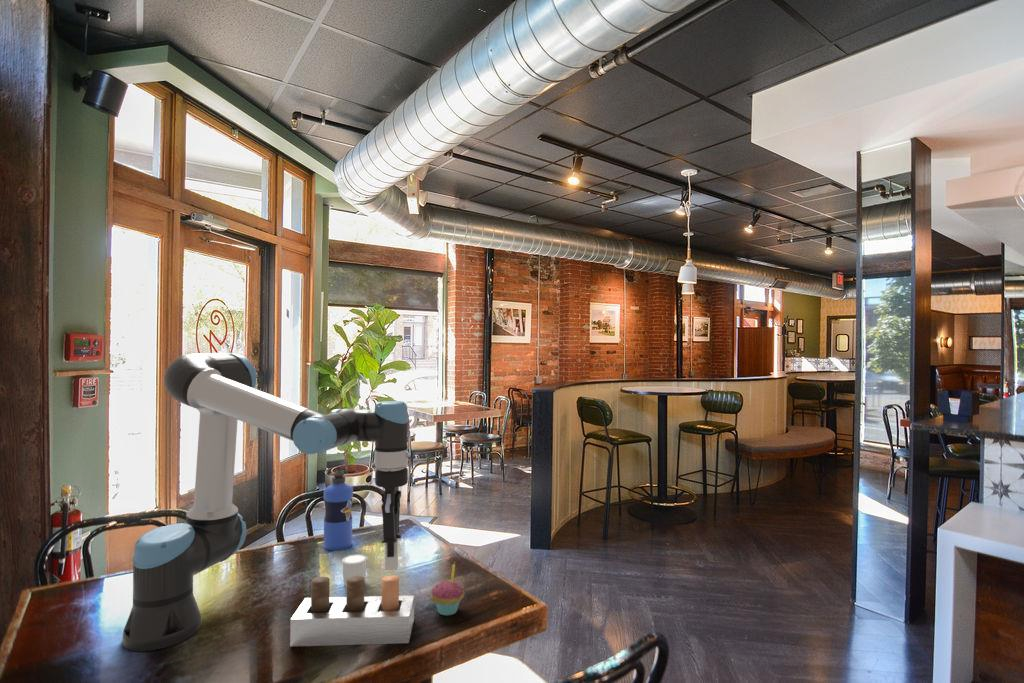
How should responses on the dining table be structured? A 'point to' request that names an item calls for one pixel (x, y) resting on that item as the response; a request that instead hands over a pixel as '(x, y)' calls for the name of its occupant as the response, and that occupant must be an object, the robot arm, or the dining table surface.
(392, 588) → the plug terracotta
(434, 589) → the cupcake
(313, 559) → the dining table surface
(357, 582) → the plug mid
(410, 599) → the jig
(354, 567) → the white cup
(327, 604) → the plug near
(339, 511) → the water bottle
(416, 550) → the dining table surface
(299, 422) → the robot arm
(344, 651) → the dining table surface
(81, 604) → the dining table surface
